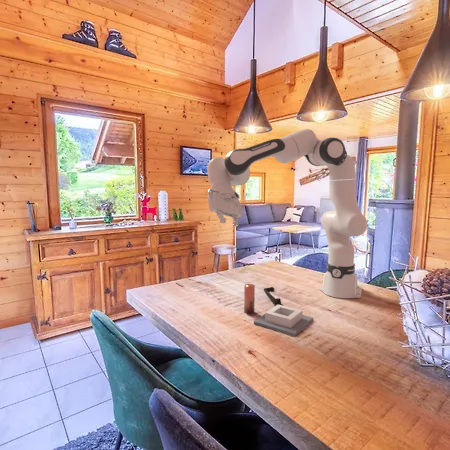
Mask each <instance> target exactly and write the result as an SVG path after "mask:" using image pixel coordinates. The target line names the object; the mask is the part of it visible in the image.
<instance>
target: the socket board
mask: <svg viewBox="0 0 450 450" xmlns="http://www.w3.org/2000/svg"><path fill="white" fill-rule="evenodd" d="M313 321H314V316H313V317H312V316H308V315H303V310H302V309H298V308H294V307H290V306H286V305H283V306H282V305H276V306H275V305H274V306H273V307H272V308H270V309H268V310H267V311H266V312H264V314H263V315H261V316H260V317H258V318H257V319H255V320H253V324H254V325H256V326H259V327H263V328H266V329H269V330H272V331H276V332H279V333H282V334H285V335H289V336H293V337H296V336H297V335H299V333H300V332H302V331H303V330H304V329H305V328H307V326H309V325H310V324H311V323H312V322H313Z"/></svg>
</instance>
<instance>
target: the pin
mask: <svg viewBox="0 0 450 450" xmlns="http://www.w3.org/2000/svg"><path fill="white" fill-rule="evenodd" d="M255 286H256V285H255V284H253V283H245V284H244V289H243V290H244V293H243V294H244V295H243V296H244V298H243V299H244V300H243V301H244V304H243V306H244V307H243V308H244V311H243V312H244V314H246V315H254V314H255V300H256V299H255V295H256V294H255V293H256V292H255V291H256V289H255Z"/></svg>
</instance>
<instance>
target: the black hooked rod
mask: <svg viewBox="0 0 450 450" xmlns="http://www.w3.org/2000/svg"><path fill="white" fill-rule="evenodd" d="M263 291H264V292H265V294H266V295H267V297H268V299H269V300H270V301H271V303H273V305H274V307H275V306H276V305H282V306H284V304H283V303H282V301H281V300H282V299H281V298H276V297H275V296H273V295H272V294H271V293H270V292H275V288H274V286H270V287H265V288H263Z"/></svg>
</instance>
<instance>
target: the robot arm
mask: <svg viewBox="0 0 450 450" xmlns="http://www.w3.org/2000/svg"><path fill="white" fill-rule="evenodd" d="M270 157H273V158H274V159H275V160H276V161H277V162H279V163H281V164H287V163H291V162H294V161H296V160H298V159H300V158H301V157H304V158H305V159H306V160H307V162H308V163H309V164H310V165H312V166H315V167H321V166H322V167H325V166H326V167H327V169H328V173H329V184H328V185H329V189H328V191H329V199H330V201H332V203H333V206H334V209H332V210H327V211H325V212H324V213H323V214H322V215H321V218H320V224H321V226H322V228H323V230H324V232H325V235H326V240H327V245H328V247H327V248H328V258H327V259H328V261H327V263H326V272H324V273H323V280H322V286H320V287H319V291H320V292H323V293H324V294H325V295H326V296H329V297H332V298H336V299H337V298H338V299H354V298H355V299H361V298H362V292H363V287H362V286H360V285H358V276H357V275H356V271H355V270H356V263H354V262H355V247H354V245H353V243H351V240H350V237H359V236H361V235H363V234H364V233H366V230H368V229H367V228H368V221H367V218H366V217H365V215H364V214H363V213H362V210H361V209H360V206H359V204H358V199H357V189H356V188H357V185H356V182H357V181H356V180H357V179H356V176H357V175H356V166H355V161H354V158H353V157H352V156H350V155H349V154H348V152H347V150H346V147H345V144H344V142H343V141H342V140H341V139H340V138H338V137H326V138H324V139H321V140H320V139H319V138H318V137H317V134H316V133H315V132H314V131H313V129H310V128H304V129H301V130H297V131H295V132H292V133H289V134H287V135H285V136H283V137H279V138H272V139H269V140H266V141H263V142H261V143H257V144H255V145H251V146H248V147H246V148H245V147H244V148H236V149H233V150H231V151H229V152H228V153H227V154H226V155H225V158H222V157H220V156H218V157H214V158H213V159H211V160H210V161H208V163H207V167H206V170H207V172H206V173H207V177H208V178H207V179H208V181H209V183H210V189H208V193H207V194H208V196H207V203H208V207H209V210H210V212H213V213H215V214H216V216H217V217H218V219H219V223H220V224H225V223H226V222H227V219H226V218H225V216H226V217H230V218H232V220H233V221H232V226H233V227H238V226H239V218H242V217H243V215H244V213H243V208H242V204H241V201H240V194H238V192H236V191H235V189H234V188H233V187H235V186H236V187H237V186H242V185H245V184H246V183H247V182H249V179H250V177H251V175H250V174H251V169H250V167H251V166H252V165H253V164H254V163H255V162H258V161H261V160H265V159H268V158H270Z"/></svg>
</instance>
